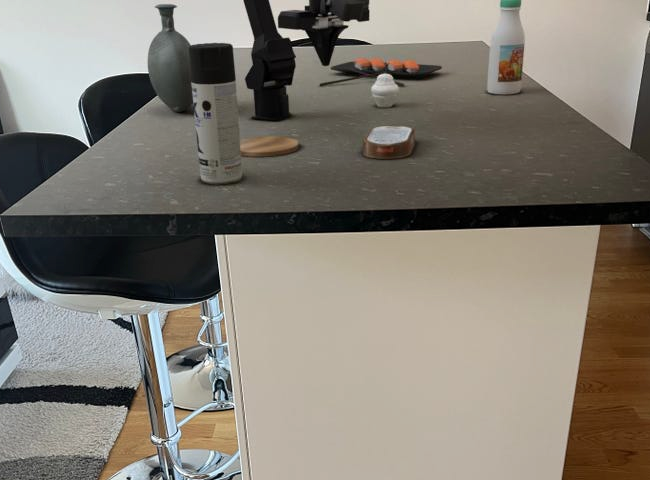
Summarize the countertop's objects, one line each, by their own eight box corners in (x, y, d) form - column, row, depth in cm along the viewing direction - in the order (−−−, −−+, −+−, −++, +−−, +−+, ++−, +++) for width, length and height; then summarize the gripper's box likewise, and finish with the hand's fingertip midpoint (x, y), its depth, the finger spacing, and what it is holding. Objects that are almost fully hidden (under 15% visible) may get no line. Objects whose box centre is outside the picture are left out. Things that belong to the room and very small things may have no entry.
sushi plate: (445, 73, 208) (446, 58, 206) (394, 91, 186) (394, 75, 184) (353, 67, 222) (352, 53, 220) (294, 84, 200) (293, 68, 198)
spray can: (202, 174, 126) (188, 43, 116) (243, 172, 126) (233, 41, 117) (199, 186, 120) (185, 48, 110) (243, 183, 120) (232, 46, 111)
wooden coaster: (219, 153, 138) (219, 148, 138) (254, 138, 147) (254, 134, 147) (277, 159, 133) (277, 154, 133) (310, 143, 142) (310, 139, 142)
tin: (359, 158, 132) (408, 163, 130) (360, 140, 130) (410, 144, 129) (371, 138, 144) (416, 142, 143) (372, 121, 143) (418, 124, 142)
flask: (207, 102, 181) (196, -1, 170) (200, 117, 166) (189, 5, 156) (157, 105, 181) (144, 1, 170) (146, 120, 166) (131, 8, 155)
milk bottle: (483, 94, 180) (490, 0, 170) (490, 88, 186) (496, -3, 176) (517, 95, 177) (525, -1, 167) (522, 90, 183) (531, -3, 174)
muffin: (374, 109, 168) (375, 75, 165) (367, 104, 173) (367, 71, 170) (402, 107, 169) (402, 74, 166) (394, 102, 174) (394, 69, 171)
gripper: (316, -22, 129) (319, 76, 136) (391, -28, 140) (390, 63, 147) (273, -23, 136) (278, 70, 144) (348, -29, 147) (348, 58, 155)
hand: (325, 65), depth 147 cm, fingers closed
